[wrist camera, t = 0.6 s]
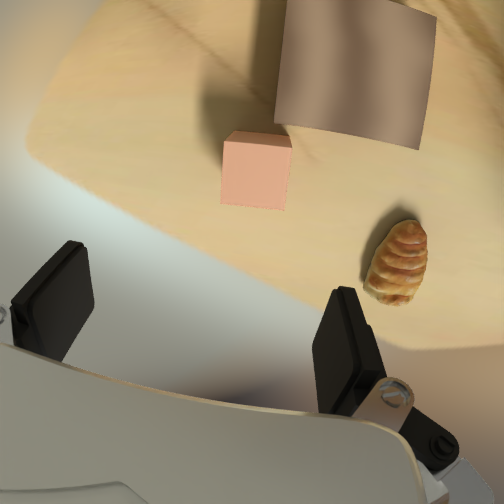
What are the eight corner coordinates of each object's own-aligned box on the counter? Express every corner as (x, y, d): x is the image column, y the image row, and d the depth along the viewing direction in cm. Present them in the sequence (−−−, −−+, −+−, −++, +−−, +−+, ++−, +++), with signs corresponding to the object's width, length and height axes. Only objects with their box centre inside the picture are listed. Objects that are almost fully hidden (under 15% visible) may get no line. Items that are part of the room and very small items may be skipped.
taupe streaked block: (413, 25, 21) (436, 17, 17) (398, 139, 27) (418, 150, 23) (287, -4, 21) (289, -21, 17) (274, 117, 27) (273, 122, 23)
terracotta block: (289, 136, 28) (292, 148, 23) (283, 187, 30) (284, 210, 25) (234, 130, 28) (224, 141, 23) (230, 181, 30) (220, 203, 25)
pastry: (379, 211, 31) (391, 227, 27) (434, 220, 31) (449, 236, 27) (358, 288, 35) (365, 309, 32) (409, 292, 35) (419, 312, 32)
